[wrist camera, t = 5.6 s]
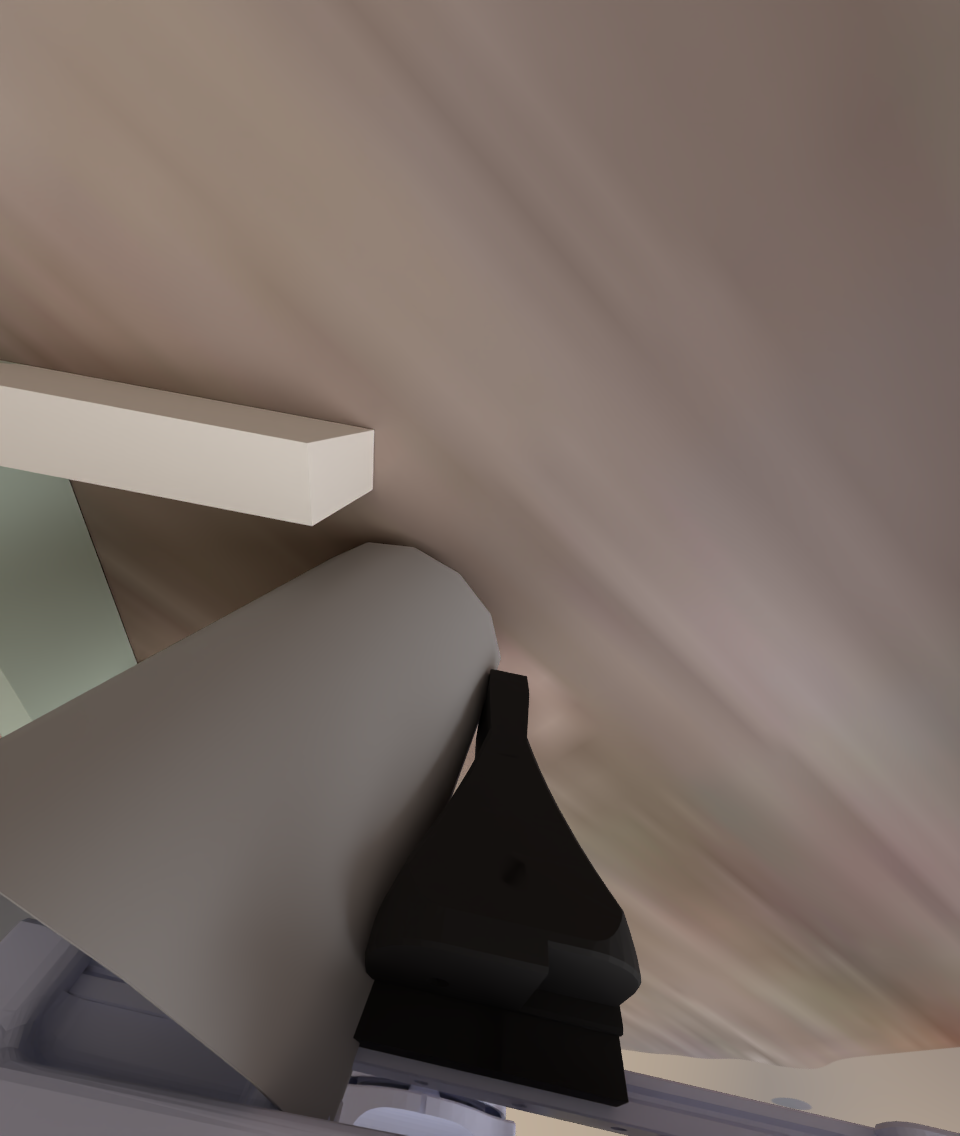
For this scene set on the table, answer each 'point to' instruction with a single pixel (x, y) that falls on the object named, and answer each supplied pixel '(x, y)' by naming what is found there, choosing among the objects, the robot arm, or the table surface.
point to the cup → (254, 807)
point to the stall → (140, 464)
